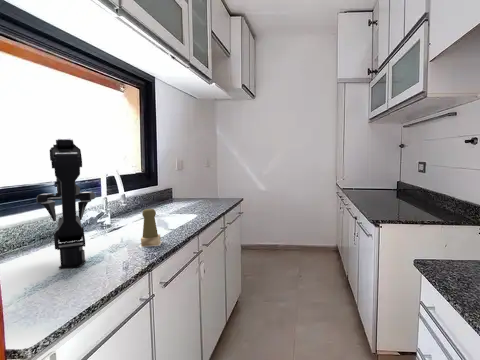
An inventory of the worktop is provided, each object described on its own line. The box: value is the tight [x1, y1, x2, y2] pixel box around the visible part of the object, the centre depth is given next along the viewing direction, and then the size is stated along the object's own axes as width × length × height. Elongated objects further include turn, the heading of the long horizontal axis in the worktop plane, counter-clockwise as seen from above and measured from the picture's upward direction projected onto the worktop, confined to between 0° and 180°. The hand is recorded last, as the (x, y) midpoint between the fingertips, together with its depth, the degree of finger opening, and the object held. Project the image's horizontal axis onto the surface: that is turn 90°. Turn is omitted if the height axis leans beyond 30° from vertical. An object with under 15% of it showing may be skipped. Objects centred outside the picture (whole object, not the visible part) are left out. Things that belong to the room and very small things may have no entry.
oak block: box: [140, 233, 162, 247], centre depth 146 cm, size 6×6×3 cm
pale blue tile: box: [138, 240, 163, 248], centre depth 146 cm, size 12×11×1 cm
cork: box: [141, 208, 159, 238], centre depth 145 cm, size 6×6×11 cm
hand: (67, 220), depth 134 cm, fingers open, 9 cm apart
